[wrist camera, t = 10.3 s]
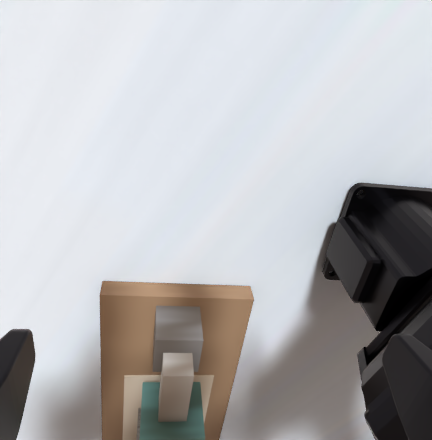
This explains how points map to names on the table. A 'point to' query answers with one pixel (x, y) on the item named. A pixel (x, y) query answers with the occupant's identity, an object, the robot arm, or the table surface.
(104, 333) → the shaft coupling stand
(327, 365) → the table surface
